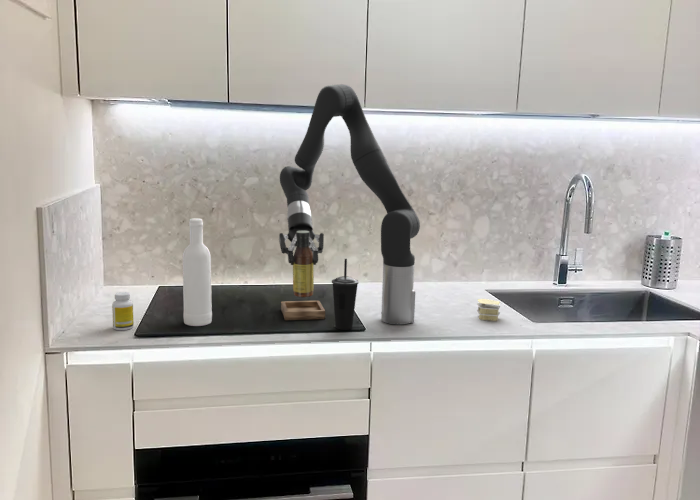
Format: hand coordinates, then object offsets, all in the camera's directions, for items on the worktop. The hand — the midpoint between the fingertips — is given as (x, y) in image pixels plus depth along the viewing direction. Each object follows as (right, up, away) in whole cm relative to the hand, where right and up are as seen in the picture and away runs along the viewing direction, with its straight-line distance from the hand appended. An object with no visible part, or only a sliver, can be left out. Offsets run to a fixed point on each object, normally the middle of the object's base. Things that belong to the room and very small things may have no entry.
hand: (303, 263), depth 187 cm
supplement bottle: (-49, -18, -13) cm, 54 cm away
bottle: (-30, -17, -7) cm, 35 cm away
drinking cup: (+12, -18, -8) cm, 23 cm away
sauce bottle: (0, -10, +3) cm, 11 cm away
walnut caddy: (-1, -16, +4) cm, 16 cm away
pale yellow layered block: (+56, -17, +5) cm, 59 cm away
